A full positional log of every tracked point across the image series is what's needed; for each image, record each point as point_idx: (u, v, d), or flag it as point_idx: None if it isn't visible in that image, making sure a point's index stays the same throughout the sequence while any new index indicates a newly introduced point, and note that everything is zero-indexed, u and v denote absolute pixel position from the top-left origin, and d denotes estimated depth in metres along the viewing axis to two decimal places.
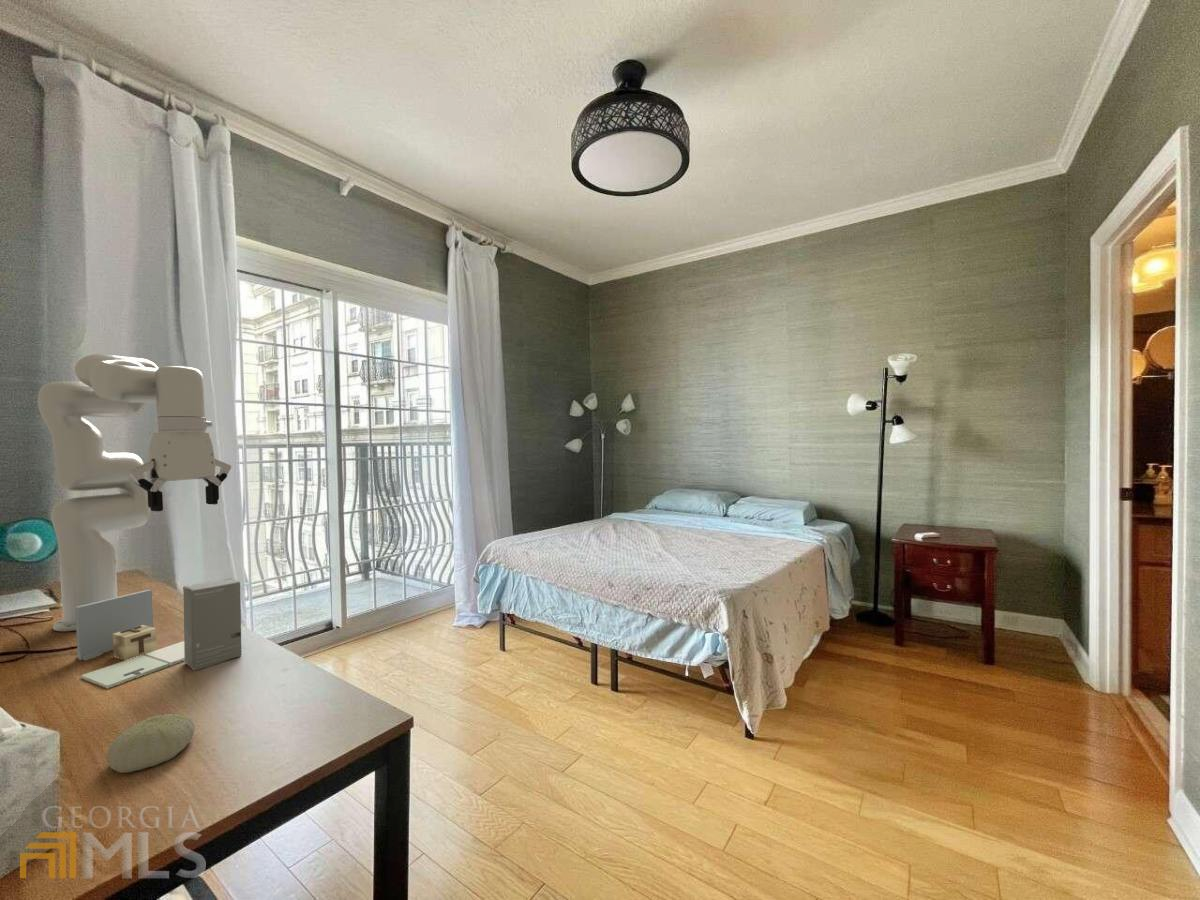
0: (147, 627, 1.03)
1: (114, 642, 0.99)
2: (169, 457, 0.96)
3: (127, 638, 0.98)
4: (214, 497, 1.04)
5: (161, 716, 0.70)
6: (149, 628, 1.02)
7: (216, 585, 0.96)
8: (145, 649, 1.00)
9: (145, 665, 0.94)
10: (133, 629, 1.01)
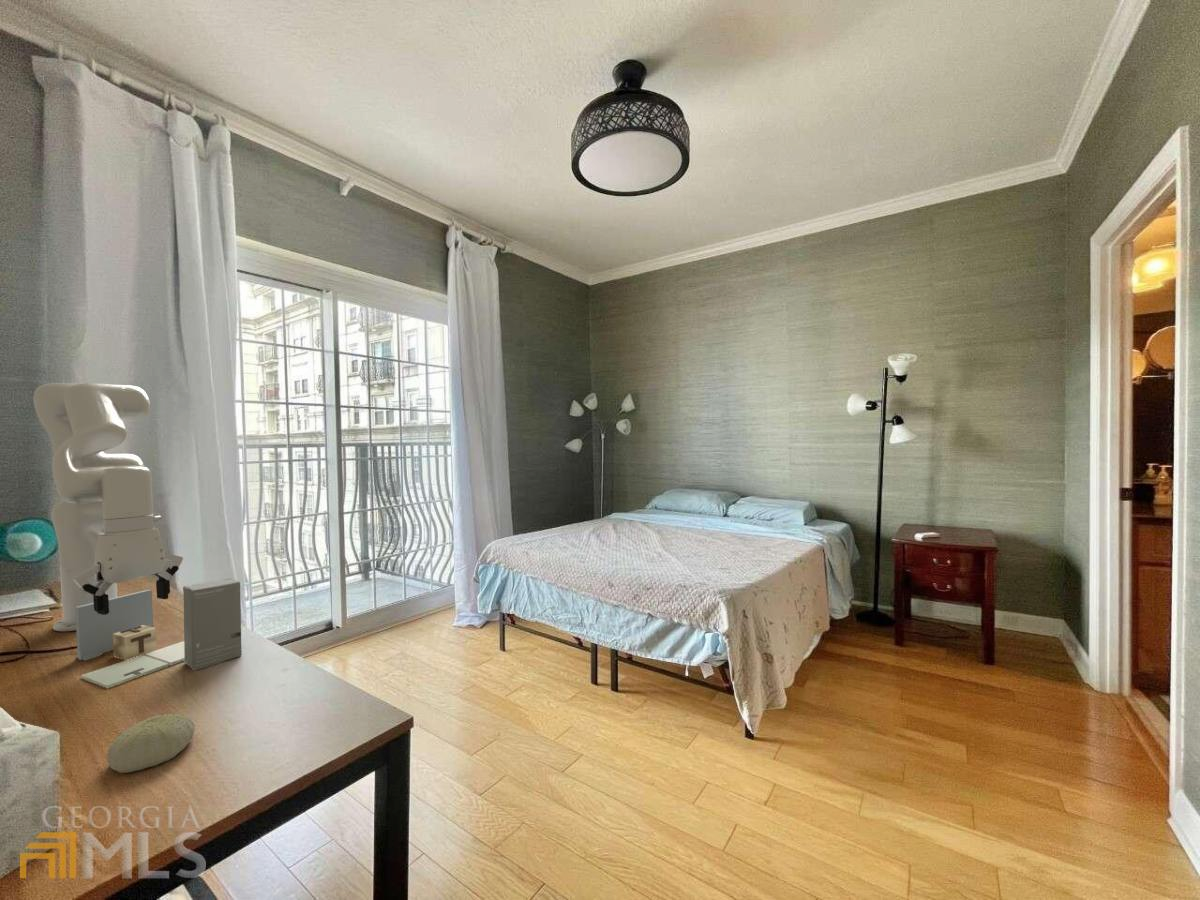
0: (147, 627, 1.03)
1: (114, 642, 0.99)
2: (115, 559, 0.96)
3: (127, 638, 0.98)
4: (164, 592, 1.04)
5: (161, 716, 0.70)
6: (149, 628, 1.02)
7: (216, 585, 0.96)
8: (145, 649, 1.00)
9: (145, 665, 0.94)
10: (133, 629, 1.01)
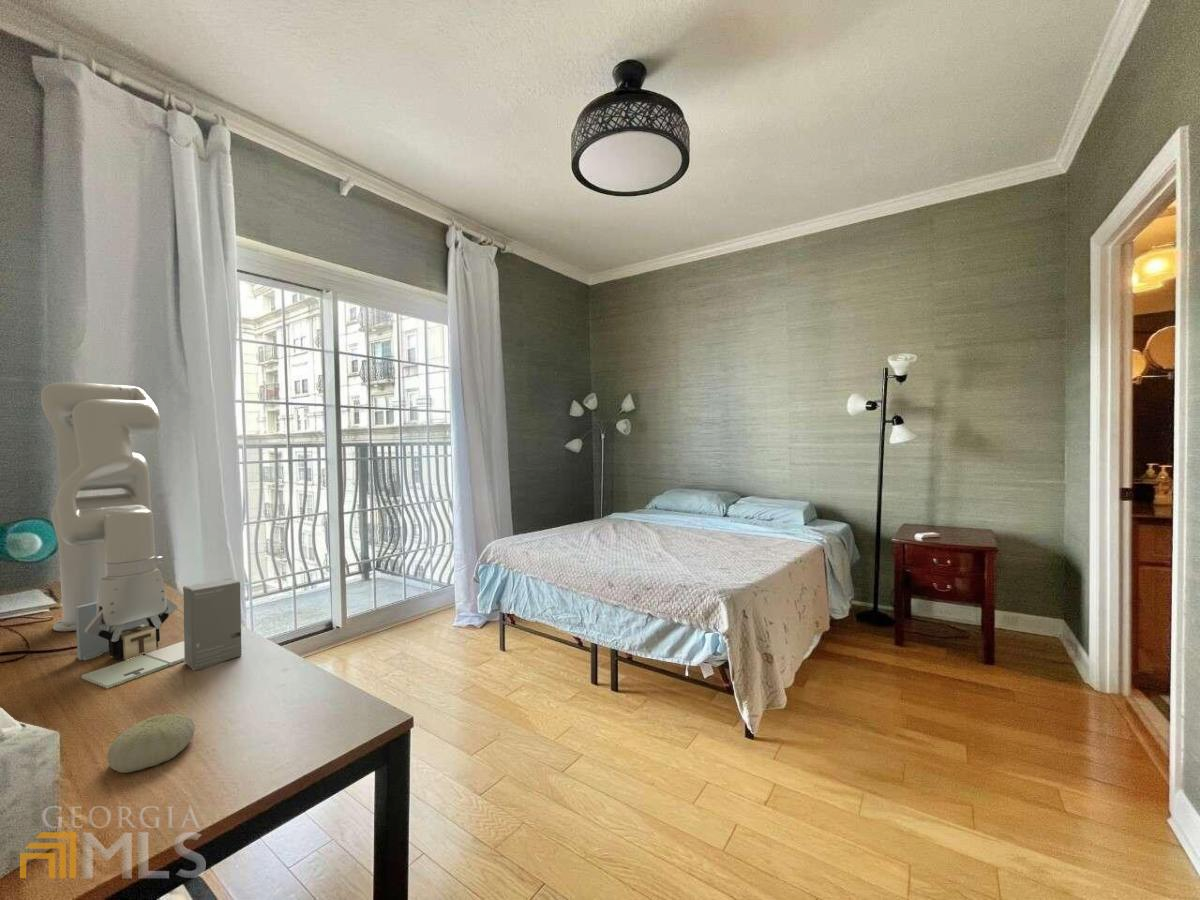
0: (147, 627, 1.03)
1: None
2: (117, 603, 0.97)
3: (127, 638, 0.98)
4: None
5: (161, 716, 0.70)
6: (149, 628, 1.02)
7: (216, 585, 0.96)
8: (145, 649, 1.00)
9: (145, 665, 0.94)
10: (133, 629, 1.01)
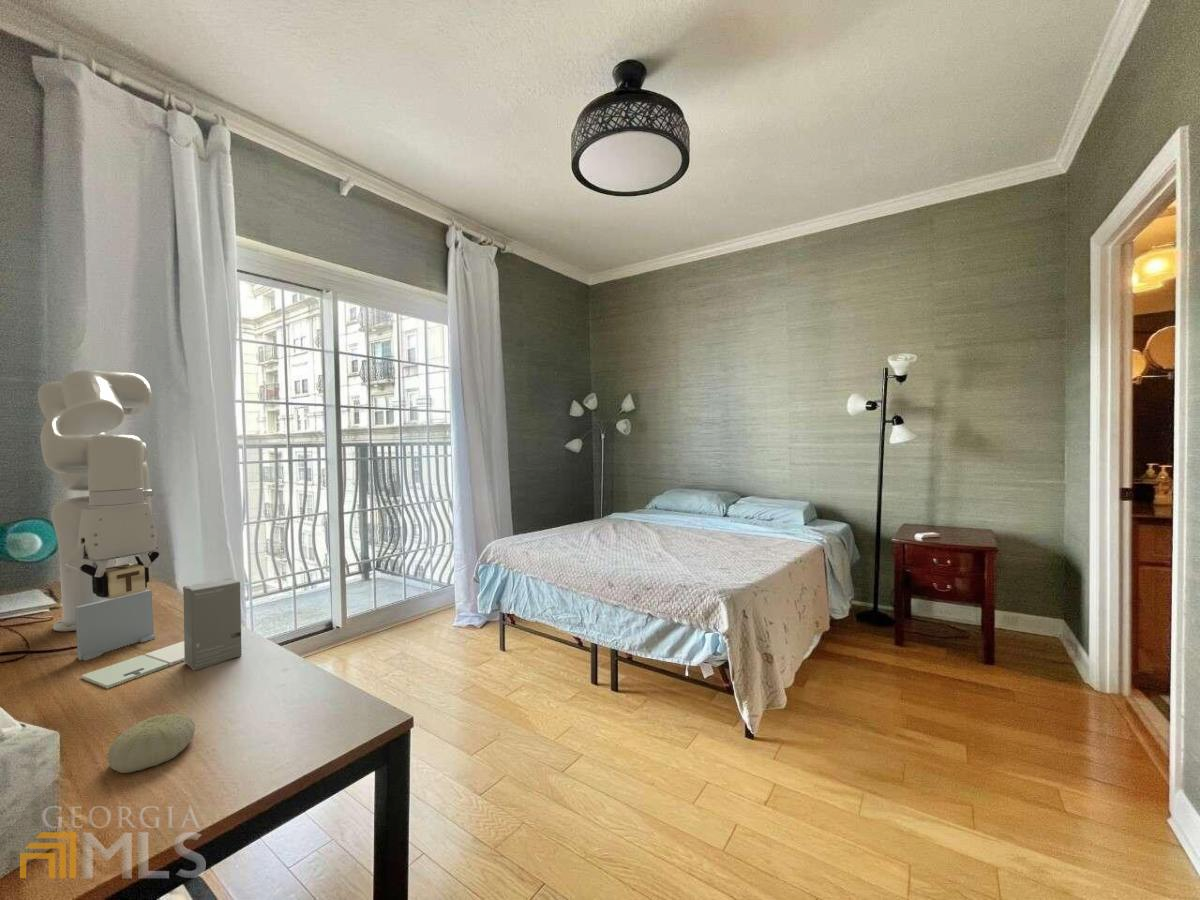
0: (135, 565, 0.94)
1: None
2: (101, 535, 0.88)
3: (113, 574, 0.89)
4: None
5: (161, 716, 0.70)
6: (137, 566, 0.93)
7: (216, 585, 0.96)
8: (133, 588, 0.92)
9: (145, 665, 0.94)
10: (120, 566, 0.92)
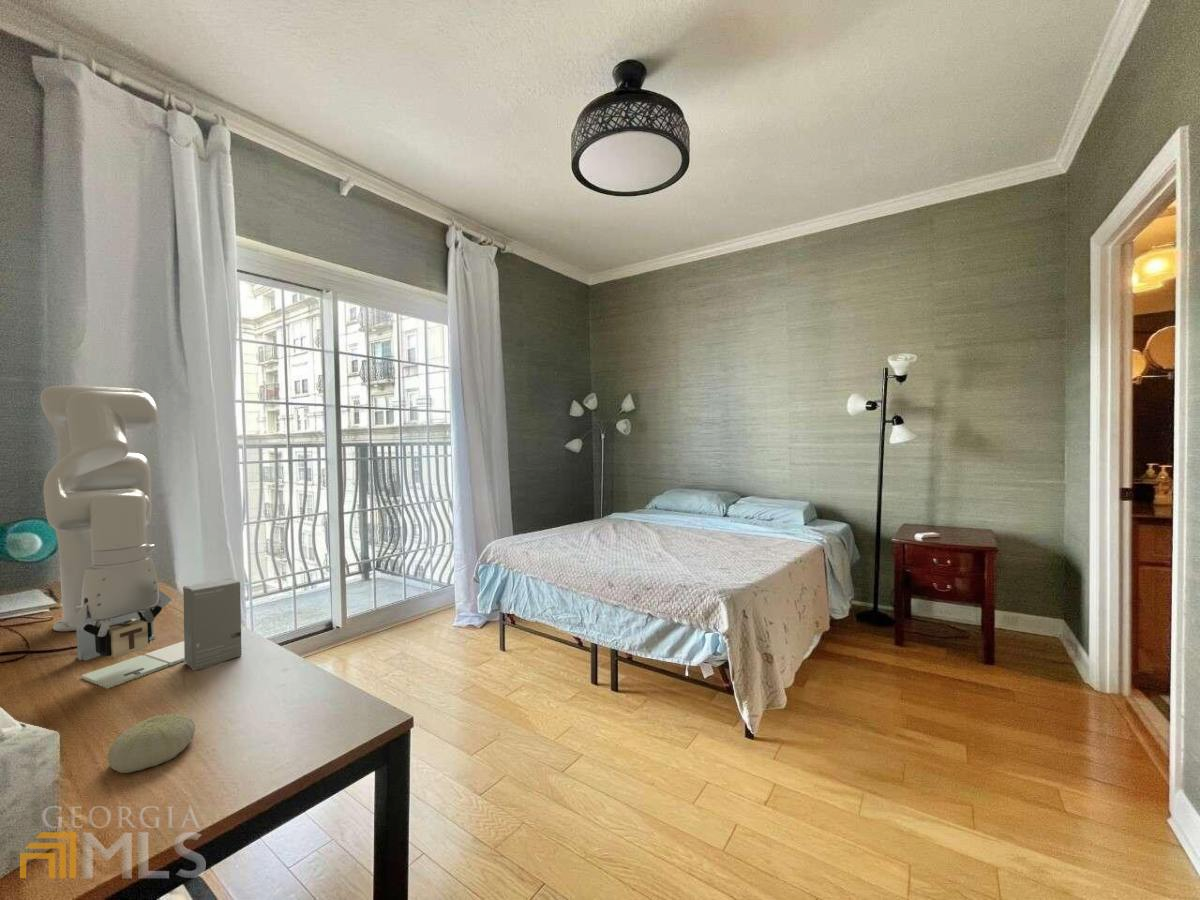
0: (138, 621, 0.94)
1: None
2: (104, 594, 0.88)
3: (116, 633, 0.89)
4: None
5: (162, 716, 0.70)
6: (140, 622, 0.93)
7: (216, 585, 0.96)
8: (136, 645, 0.92)
9: (145, 665, 0.94)
10: (123, 623, 0.93)
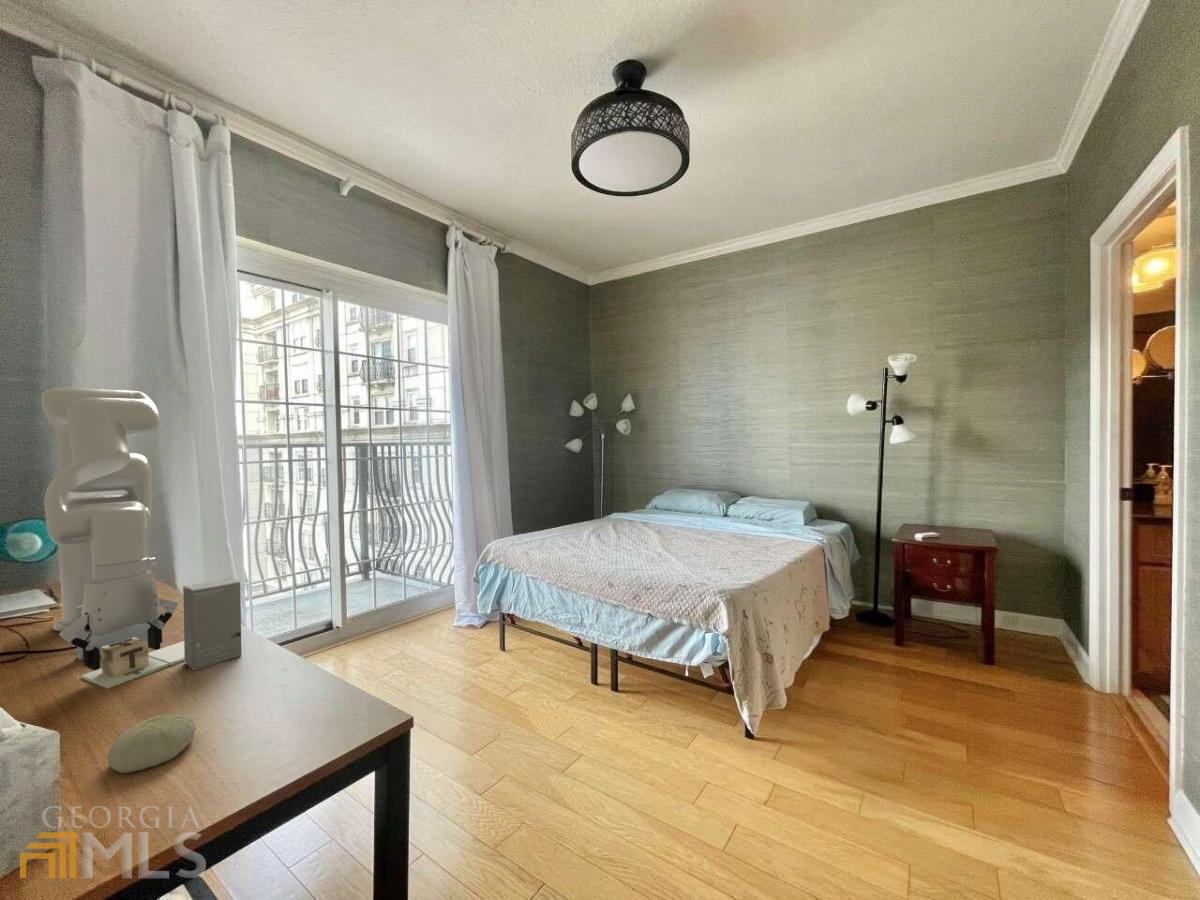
0: (139, 640, 0.94)
1: (102, 657, 0.91)
2: (105, 609, 0.88)
3: (116, 653, 0.90)
4: (156, 642, 0.96)
5: (162, 716, 0.70)
6: (141, 641, 0.94)
7: (216, 585, 0.96)
8: (136, 664, 0.92)
9: None
10: (123, 642, 0.93)
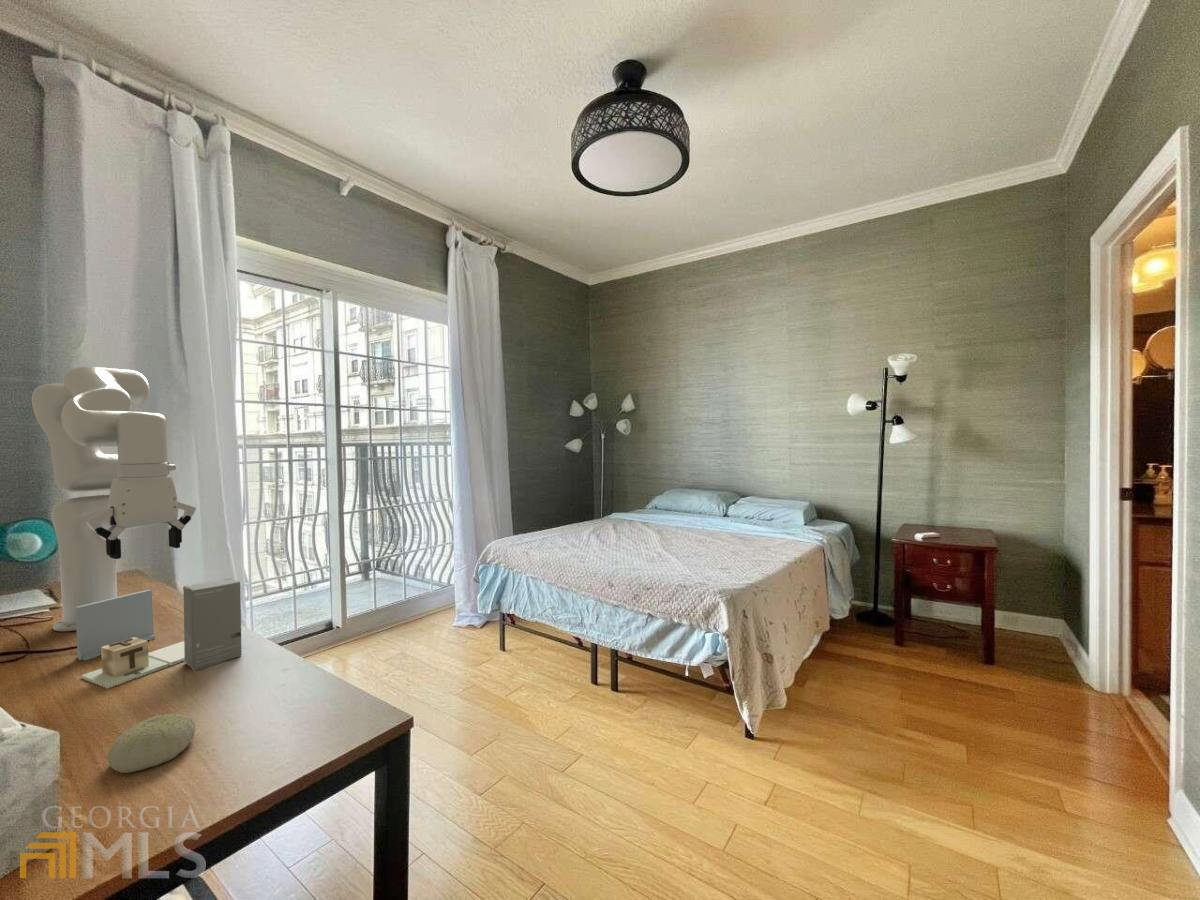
0: (139, 640, 0.94)
1: (102, 657, 0.91)
2: (128, 504, 0.96)
3: (116, 653, 0.90)
4: (176, 541, 1.03)
5: (162, 716, 0.70)
6: (141, 641, 0.94)
7: (216, 585, 0.96)
8: (136, 664, 0.92)
9: None
10: (123, 642, 0.93)
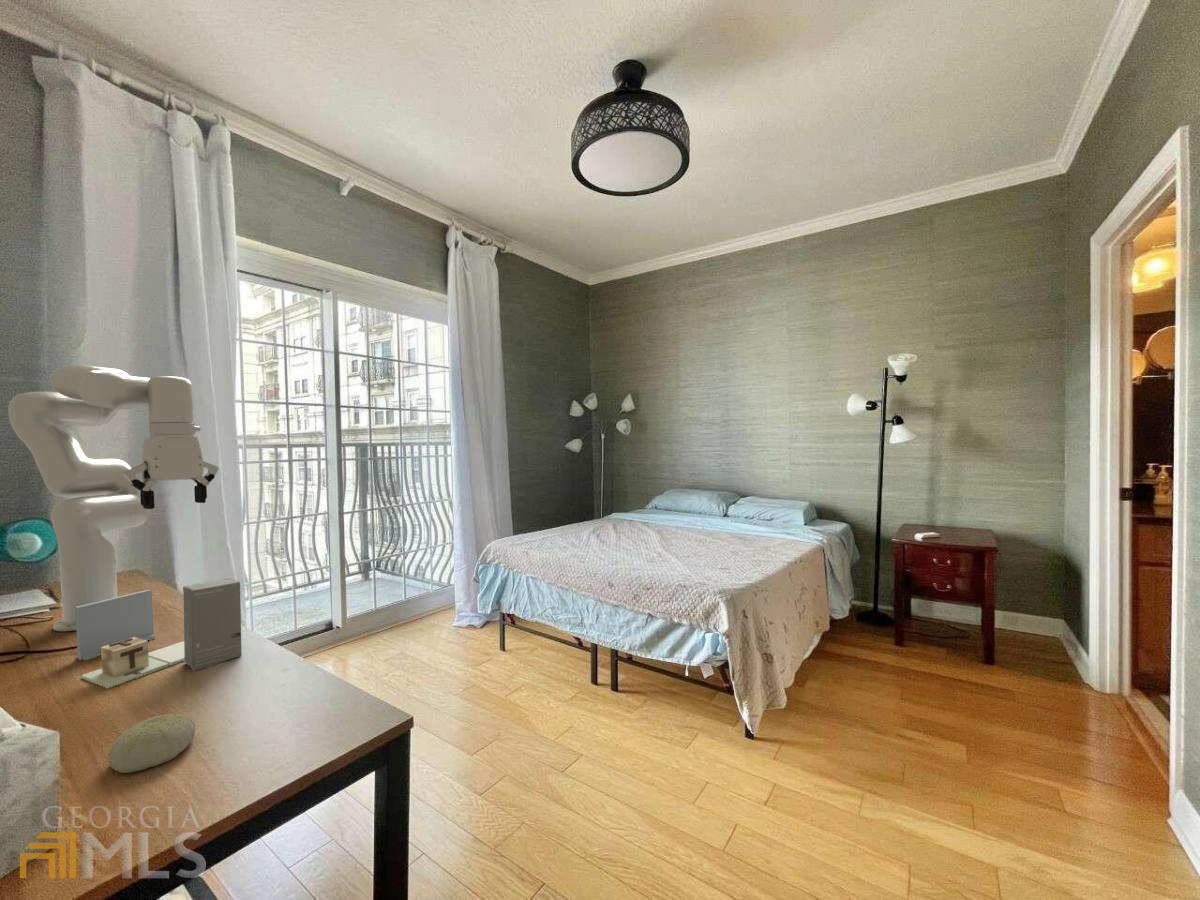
0: (139, 640, 0.94)
1: (102, 657, 0.91)
2: (160, 459, 1.05)
3: (116, 653, 0.90)
4: (202, 496, 1.13)
5: (162, 716, 0.70)
6: (141, 641, 0.94)
7: (216, 585, 0.96)
8: (136, 664, 0.92)
9: None
10: (123, 642, 0.93)
